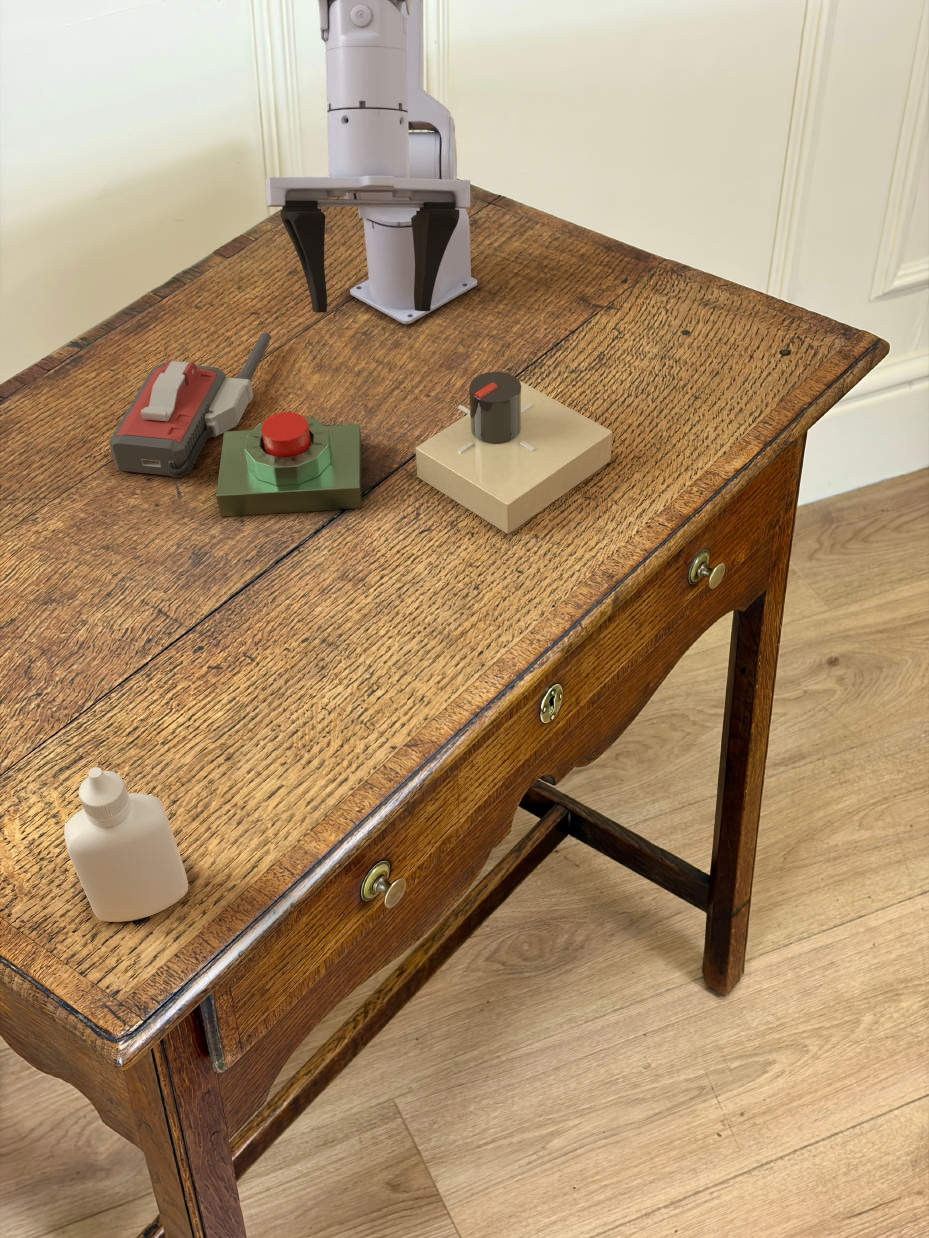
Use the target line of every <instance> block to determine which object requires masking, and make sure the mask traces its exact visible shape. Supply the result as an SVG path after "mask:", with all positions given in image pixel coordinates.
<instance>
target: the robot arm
mask: <svg viewBox="0 0 929 1238" xmlns="http://www.w3.org/2000/svg"><path fill="white" fill-rule="evenodd" d="M317 3H318V12H319V30H320V39H321V40H322V41H323V42H324V45H325V53H324V55H325V83H326V84H325V86H326V112H327V113H326V123H327V159H328V176H269V177H266V178H265V194H266V195H265V198H266V202H265V203H266V207H267V208H281V209H280V211H279V212H280V219H281V221H282V224H283V226H284V228H285V230H286V232H287V233H288V236H289V239H290V240H291V243H292V245H293V247H294V249H295V251H296V254H297V257H298V259H299V262H300V264H301V267H302V268H301V269H302V270H303V273H304V277H305V280H306V284H307V288H308V291H309V296H310V301H311V309H312V312H313V313H318V314H319V313H320V314H321V313H324V314H325V313H328V293H327V283H326V282H327V281H326V270H325V240H326V239H325V237H326V235H325V234H326V214H325V213H324V212H323V211H322V207H325V208H326V207H327V208H357V211H358V218H359V219H362V221H363V232H364V243H365V254H366V265H367V275H368V279H366V280H364V281H362V282H361V283H359V284H357V285H356V286H353V287H351V288H350V290H349V294H350V296H352V297H354V298H356V299H358V300H359V301H361V302H363V303H365V304H367V305H368V306H370V307H372V308H374V309H376V310H377V311H379V312H381V313H383V314H385V315H386V316H389V317H390V318H392V319H393V320H396V321H397V322H399V323H401V324H403V325H410V324H412V323H414V322H415V321H417V320H419V319H421V318H422V317H424V316H427V315H428V314H429V313H431V312H433V311H435V310H437V309H438V308H440V307H442V306H443V305H445V304H448V303H449V302H450V301H452V300H454V299H456V298H458V297H459V296H461V295H462V294H464V293H466V292H468V291H470V290H472V289H473V288H475V287H476V286H477V285H478V280H477V278H475V277H473V276H472V265H471V228H470V226H471V225H470V218H469V215H468V211H467V209H470V208H471V180H470V179H458V150H457V140H456V139H457V138H456V123H455V119H454V118H453V116H452V113H451V111H450V110H449V108H447V107H446V106H445V105H444V104H442V103H441V102H440V101H438V99H436V98H435V97H433V96H432V95H431V94H429V93H428V92H427V91H426V90H425V85H424V84H425V82H424V81H425V79H424V78H425V77H424V76H425V75H424V73H425V72H424V71H425V70H424V69H425V68H424V66H425V65H424V57H425V56H424V55H425V54H424V50H425V49H424V48H425V47H424V46H425V45H424V0H317ZM342 197H343V199H342ZM338 198H340V199H338Z"/></svg>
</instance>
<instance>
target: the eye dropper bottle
mask: <svg viewBox="0 0 929 1238" xmlns="http://www.w3.org/2000/svg"><path fill="white" fill-rule="evenodd" d="M123 779H124V778H122V777H121V775H119V774H118V773H117V772H115V771H110V770H102V768H101V767H99V766H95V767H91V768H90V769H89V770H88V773H87V777H86V778H84V780H83V781H82V782H81V784H80V785H79V787H78V788H79V789H78V797H79V800H80V803H81V805H82V806H81V807H82V808H81V809H80V810H79V811H77V812H76V813H75V814H74V815H73V816H71V817H70V818H69V819H68V820H67V822H66V823H65V825H64V828H63V834H64V835H63V836H64V842H65V845H66V849H67V854H68V855H69V858H70V861H71V863H72V865H73V868H74V871H75V872H76V875H77V878H78V880H79V882H80V884H81V887H82V890H83V891H84V893H85V895H86V898H87V900H88V903H89V905H90V908H91V910H92V911H93V914H94V915H95V917H96V918H97V920H100V921H102V922H107V923H108V922H109V923H111V922H112V923H122V922H123V923H124V922H130V921H131V922H132V921H136V920H142V919H144V918H148V917H151V916H153V915H156V914H157V913H160V912H162V911H164V910H166V909H168V908H169V907H171V906H173V905H174V904H176V903H177V902H179V901H180V900H181V899H182V898H184V897H185V895H187V893H188V891H189V881H188V876H187V873H186V868H185V865H184V862H183V859H182V857H181V853H180V849H179V847H178V844H177V841H176V837H175V835H174V832H173V828H172V825H171V823H170V821H169V818H168V814H167V812H166V809H165V805H164V804H163V802H162V801H161V799H160V798H159V797H157V796H155V795H152V794H147V793H135V792H128V789H127V787H126V783H125V782H124V780H123Z"/></svg>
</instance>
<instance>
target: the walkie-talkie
mask: <svg viewBox="0 0 929 1238" xmlns="http://www.w3.org/2000/svg"><path fill="white" fill-rule="evenodd" d="M271 336H272V335H271V334H270V333H268V332H262V333H260V334H259V337H258V339H257V340H256V342H255V344H254V346H253V348H252V350H251V352H250V354H249V355H248V357H247V360H246V361H245V364H244V365H243V367H242V368H241V371H240V372H239V373H238V374H237V376H236V377H227V376H226V373H225V372H224V370H222V369H220V368H218V367H216V366H208V365H207V366H206V365H198V364H196V363H195V362H190V361H178V360H168V361H167V362H162V363H159V364H157V365H155V366H153V367H152V368H151V370H150V371H149V373H148V375H147V376H146V377H145V380H144V381H143V383H142V385H141V386H140V388H139V390H138V392H137V393H136V394H135V397H134V400H132V403H130V404H129V407H128V409H127V411H126V412H125V413H124V415H123V416H122V419H121V420H120V423H118V424H117V425H118V426H117V427H115V431H113V433H112V435H111V436H110V439H109V440H108V444H109V448H110V452H111V456H112V458H113V462H114V465H115V466H116V468H117V469H118V471H122V472H130V473H140V474H149V475H158V476H159V475H160V476H168V477H169V476H170V477H171V478H174V479H180V478H184V477H186V475H188V474H189V473H191V470H192V469H193V466H194V465H195V464H196V462H197V460H198V458H199V456H200V453H202V449H203V448H204V445H206V442H207V441H208V439H210V438H216V437H218V436H220V435H222V434H224V432H226V431H231V430H232V429H233V428H236V427H237V426H238V425H239V423H240V420H241V419H242V417H243V415H244V413H245V410H246V409H247V408H248V407H247V406H249V404H250V403H251V402H252V400H253V398H254V392H253V388H252V387H253V386H252V378H253V376H254V375H255V372H256V370H257V369H258V366H259V365H260V362H261V361H262V359H263V356H264V353H265V351H266V349H267V348H268V346H269V344H270V343H271V342H270V341H271V339H272V337H271Z"/></svg>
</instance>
